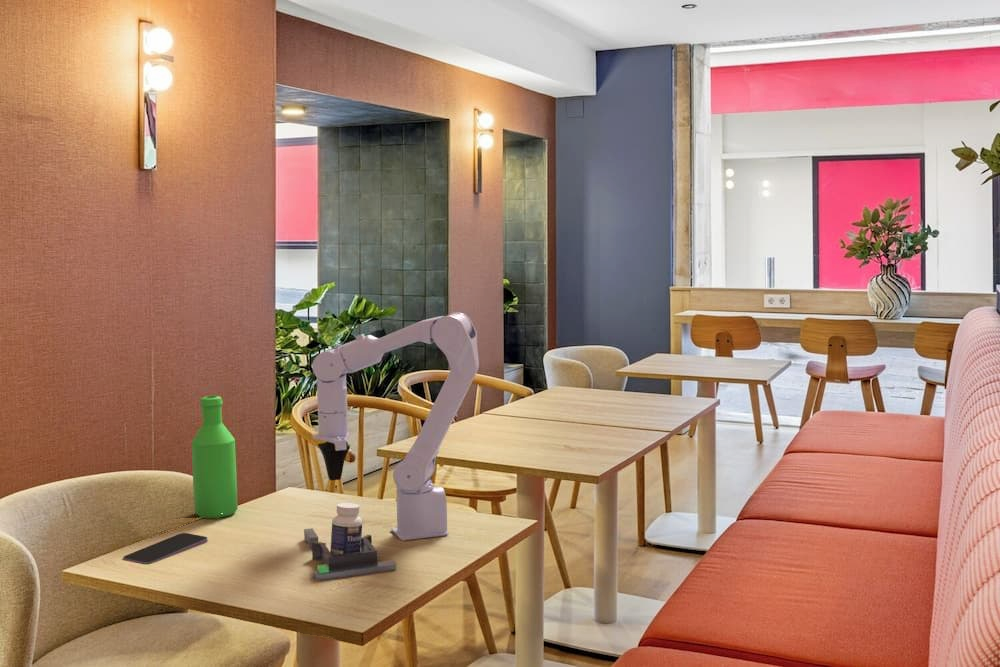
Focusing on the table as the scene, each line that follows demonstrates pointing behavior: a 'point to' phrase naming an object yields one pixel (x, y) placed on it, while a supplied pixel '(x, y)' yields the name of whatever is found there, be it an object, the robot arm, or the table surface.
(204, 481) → the bottle
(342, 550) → the pill bottle
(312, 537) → the grey u-shaped piece
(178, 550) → the smartphone
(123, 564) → the table surface
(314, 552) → the grey bottle cradle
